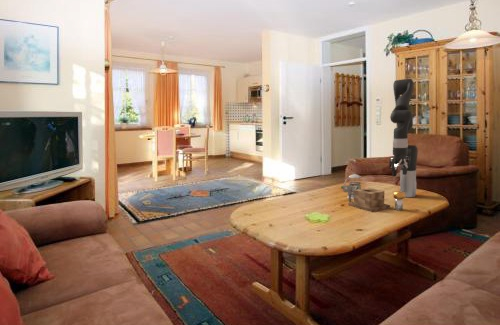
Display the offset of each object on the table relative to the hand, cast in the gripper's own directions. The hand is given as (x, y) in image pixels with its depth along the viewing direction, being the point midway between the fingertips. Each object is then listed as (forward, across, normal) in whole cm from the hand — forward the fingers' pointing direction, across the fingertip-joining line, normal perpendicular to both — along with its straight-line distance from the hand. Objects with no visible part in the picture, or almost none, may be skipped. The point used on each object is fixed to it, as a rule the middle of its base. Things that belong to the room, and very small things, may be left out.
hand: (399, 175), depth 194 cm
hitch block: (+20, +8, -14) cm, 26 cm away
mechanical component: (+20, +9, -29) cm, 36 cm away
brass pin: (+20, 0, 0) cm, 20 cm away
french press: (+20, -1, -36) cm, 41 cm away
